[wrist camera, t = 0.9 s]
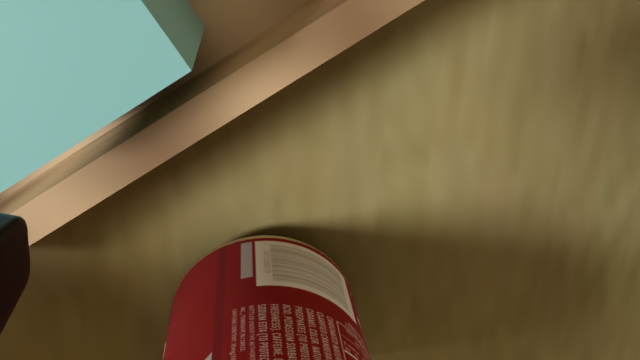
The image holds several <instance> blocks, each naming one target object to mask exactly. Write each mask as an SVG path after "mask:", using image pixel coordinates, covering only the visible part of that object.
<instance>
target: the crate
mask: <svg viewBox="0 0 640 360" xmlns="http://www.w3.org/2000/svg"><path fill="white" fill-rule="evenodd" d="M188 1H189V3H190V4H191V6H192V7H193V9H194V10H195V12H196V13H197V15H198V16H199V18H200V19H201V20H202V22H203V23H204V25H205V29H204V32H203V36H202V39H201V42H200V45H199V49H198V52H197V55H196V58H195V62H194V65H193V68H192V71H191V72H189V73H187V74H186V75H184V76H183V77H181V78H180V79H178V80H177V81H175V82H173V83H172V84H170V85H169V86H167V87H166V88H164V89H162V90H161V91H159V92H158V93H156V94H155V95H153V96H152V97H150V98H148V99H147V100H145V101H144V102H142V103H141V104H139V105H137V106H136V107H134V108H133V109H131V110H130V111H128V112H126V113H125V114H123V115H122V116H120V117H119V118H117V119H116V120H114V121H112V122H111V123H109V124H108V125H106V126H105V127H103V128H101V129H100V130H98V131H97V132H95V133H94V134H92V135H90V136H89V137H87V138H86V139H84V140H83V141H81V142H80V143H78V144H76V145H75V146H73V147H72V148H70V149H69V150H67V151H65V152H64V153H62V154H61V155H59V156H58V157H56V158H55V159H53V160H51V161H50V162H48V163H47V164H45V165H44V166H42V167H40V168H39V169H37V170H36V171H34V172H33V173H31V174H29V175H28V176H26V177H25V178H23V179H22V180H20V181H19V182H17V183H15V184H14V185H12V186H11V187H9V188H8V189H6V190H4V191H3V192H1V193H0V212H1V213H6V214H11V215H17V216H20V217H22V218H23V219H24V220H25V221H26V224H27V228H28V241H29V246H30V245H31V244H33V243H35V242H36V241H38V240H39V239H41V238H43V237H44V236H46V235H48V234H49V233H51V232H52V231H54V230H56V229H57V228H59V227H60V226H62V225H64V224H65V223H67V222H68V221H70V220H72V219H73V218H75V217H77V216H78V215H80V214H81V213H83V212H85V211H86V210H88V209H89V208H91V207H93V206H94V205H96V204H97V203H99V202H101V201H102V200H104V199H106V198H107V197H109V196H110V195H112V194H114V193H115V192H117V191H118V190H120V189H122V188H123V187H125V186H126V185H128V184H130V183H131V182H133V181H134V180H136V179H138V178H139V177H141V176H143V175H144V174H146V173H147V172H149V171H151V170H152V169H154V168H155V167H157V166H159V165H160V164H162V163H163V162H165V161H167V160H168V159H170V158H172V157H173V156H175V155H176V154H178V153H180V152H181V151H183V150H184V149H186V148H188V147H189V146H191V145H192V144H194V143H196V142H197V141H199V140H200V139H202V138H204V137H205V136H207V135H209V134H210V133H212V132H213V131H215V130H217V129H218V128H220V127H221V126H223V125H225V124H226V123H228V122H229V121H231V120H233V119H234V118H236V117H238V116H239V115H241V114H242V113H244V112H246V111H247V110H249V109H250V108H252V107H254V106H255V105H257V104H258V103H260V102H262V101H263V100H265V99H267V98H268V97H270V96H271V95H273V94H275V93H276V92H278V91H279V90H281V89H283V88H284V87H286V86H287V85H289V84H291V83H292V82H294V81H295V80H297V79H299V78H300V77H302V76H304V75H305V74H307V73H308V72H310V71H312V70H313V69H315V68H316V67H318V66H320V65H321V64H323V63H324V62H326V61H328V60H329V59H331V58H333V57H334V56H336V55H337V54H339V53H341V52H342V51H344V50H345V49H347V48H349V47H350V46H352V45H353V44H355V43H357V42H358V41H360V40H362V39H363V38H365V37H366V36H368V35H370V34H371V33H373V32H374V31H376V30H378V29H379V28H381V27H382V26H384V25H386V24H387V23H389V22H390V21H392V20H394V19H395V18H397V17H399V16H400V15H402V14H403V13H405V12H407V11H408V10H410V9H411V8H413V7H415V6H416V5H418V4H419V3H421V2H423V1H424V0H188Z"/></svg>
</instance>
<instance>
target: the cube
mask: <svg viewBox="0 0 640 360" xmlns="http://www.w3.org/2000/svg"><path fill="white" fill-rule="evenodd" d="M204 29H205V25H204V23H203V22H202V20H201V19H200V18H199V16H198V15H197V13H196V12H195V10H194V9H193V7H192V6H191V4H190V3H189V1H188V0H0V193H1V192H3V191H4V190H6V189H8V188H9V187H11V186H12V185H14V184H15V183H17V182H19V181H20V180H22V179H23V178H25V177H26V176H28V175H29V174H31V173H33V172H34V171H36V170H37V169H39V168H40V167H42V166H44V165H45V164H47V163H48V162H50V161H51V160H53V159H55V158H56V157H58V156H59V155H61V154H62V153H64V152H65V151H67V150H69V149H70V148H72V147H73V146H75V145H76V144H78V143H80V142H81V141H83V140H84V139H86V138H87V137H89V136H90V135H92V134H94V133H95V132H97V131H98V130H100V129H101V128H103V127H105V126H106V125H108V124H109V123H111V122H112V121H114V120H116V119H117V118H119V117H120V116H122V115H123V114H125V113H126V112H128V111H130V110H131V109H133V108H134V107H136V106H137V105H139V104H141V103H142V102H144V101H145V100H147V99H148V98H150V97H152V96H153V95H155V94H156V93H158V92H159V91H161V90H162V89H164V88H166V87H167V86H169V85H170V84H172V83H173V82H175V81H177V80H178V79H180V78H181V77H183V76H184V75H186V74H187V73H189V72H191V71H192V68H193V65H194V62H195V58H196V55H197V52H198V49H199V45H200V42H201V39H202V36H203V32H204Z"/></svg>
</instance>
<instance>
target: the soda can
mask: <svg viewBox="0 0 640 360" xmlns="http://www.w3.org/2000/svg"><path fill="white" fill-rule="evenodd" d="M163 360H370V357H369V354H368V350H367V347H366V343H365V339H364V336H363V332H362V329H361V325H360V321H359V318H358V314H357V311H356V307H355V303H354V300H353V296H352V293H351V289H350V286H349V284H348V281H347V279H346V277H345V276H344V274H343V272H342V271H341V269H340V268H339V267H338V266H337V264H336V263H335V262H334V261H333V260H332V259H331V258H330V257H328V256H327V255H326V254H325V253H323V252H322V251H320V250H319V249H317V248H315V247H313V246H311V245H310V244H307V243H305V242H302V241H299V240H296V239H293V238H288V237H283V236H274V235H260V236H251V237H245V238H240V239H236V240H233V241H230V242H227V243H225V244H223V245H220V246H218V247H216V248H215V249H213V250H211V251H209V252H208V253H206V254H205V255H204V256H202V257H201V258H200V259H199V260H197V261H196V262H195V263H194V264H193V265H192V266H191V267H190V269H189V270H188V271H187V272H186V273H185V275H184V277H183V278H182V280H181V281H180V283H179V285H178V287H177V290H176V292H175V295H174V299H173V303H172V309H171V314H170V320H169V326H168V331H167V337H166V343H165V348H164V354H163Z"/></svg>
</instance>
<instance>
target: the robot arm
mask: <svg viewBox="0 0 640 360" xmlns="http://www.w3.org/2000/svg"><path fill="white" fill-rule="evenodd" d="M29 274H30V255H29V241H28V228H27V224H26V221H25V220H24V219H23V218H22V217H20V216H17V215H11V214H6V213H1V212H0V335H1V333H2V331H3V329H4V327H5V325H6V323H7V321H8V319H9V317H10V315H11V313H12V311H13V309H14V308H15V306H16V304H17V302H18V300H19V298H20V296H21V294H22V292H23V290H24V288H25V286H26V284H27V281H28V278H29Z"/></svg>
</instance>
